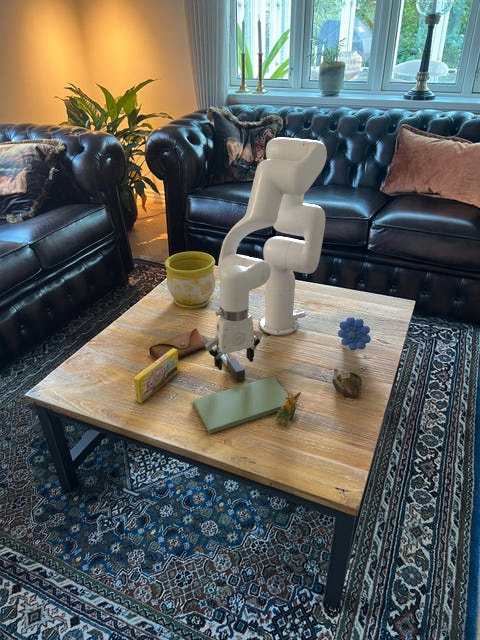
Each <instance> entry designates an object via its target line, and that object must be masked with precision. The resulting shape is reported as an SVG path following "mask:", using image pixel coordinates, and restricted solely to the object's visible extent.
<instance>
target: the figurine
mask: <svg viewBox="0 0 480 640" xmlns="http://www.w3.org/2000/svg"><path fill="white" fill-rule="evenodd" d="M287 394H288V397H286V400H287V399H288V400H287V401H286V402H285V404H284V405H283V406H282V407H281V409H280V411H279V410H278V411H277V412H276V417H275V419H276V420H275V421H276V422H277V421H280V422H278V424H279V425H282V424H283V423H285V424H284V425H283V428H284V427H285V428H286V427H287V425H288V423H289V420H290V421H292V422H293V420H294V416H295V415H296V414H295V413H296V403H297V401H298V399H299V397H300V396H301V394H302V391H298V393H296V394H294V395H293V394H292V393H291V392H288V393H287ZM289 396H290V397H289ZM290 399H291V400H290ZM284 421H285V422H284Z"/></svg>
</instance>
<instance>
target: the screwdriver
mask: <svg viewBox="0 0 480 640" xmlns="http://www.w3.org/2000/svg"><path fill="white" fill-rule="evenodd" d="M221 358H222V364H224V366H225V367H226V369H227V370H228V372H229V373H230V375H231V376H232V377H233V379H234V381H235V382H237V383H239V382H241V381H245V379H246V370H245V368H244V367H243V365H242V364H241V363H240V361H239V360H238V358H237V357H236V356H232V357H229V355H228V353H227V354H224V353H223V354H222V356H221Z"/></svg>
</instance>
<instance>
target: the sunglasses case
mask: <svg viewBox="0 0 480 640" xmlns="http://www.w3.org/2000/svg"><path fill="white" fill-rule="evenodd" d="M207 343H208V342H207V341H206V339H205V338H204V337H203V335H202V334H201V333H200V331H199V330H198V328H197V327H195V328H193V329H191V330H189V331H187V332H183V333H180V334H178V335H176V336H173V337H171V338H168V339H166V340H164V341H161V342H159V343H156V344H154V345H151V346H150V347H149V349H148V352H149V355H150V357H151V358H152V359H153V360H154V362H155V361H157V360H158V359H159V358H161V357H162V356H163V355H164V354H166V353H167V352H168V351H170V350H171V349H172V348H174V349H176V350H177V353H178V360H180V359H181V358H184V357H187V356H188V355H192V354H193V353H196V352H199V351H200V350H203V349H206V348H205V344H207Z"/></svg>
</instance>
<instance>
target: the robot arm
mask: <svg viewBox="0 0 480 640" xmlns="http://www.w3.org/2000/svg"><path fill="white" fill-rule="evenodd" d="M265 158H266V159H264V160H262V161H260V162H259V163H258V164H257V167H256V169H255V174H254V177H253V181H252V185H251V190H250V195H249V199H248V204H247V208H246V212H245V215H244V216H243V217H242V218H241V219H240V220H238V222H237V223H235V225H234V226H232V227H231V229H230V230H229V231H228V233H227V234H226V236H225V238H224V239H223V242H222V245H221V248H220V253H219V257H218V262H217V263H218V264H217V270H218V271H217V272H218V274H219V294H220V295H219V300H220V301H219V302H220V303H219V309H218V310H216V311H215V315H216V317H217V320H216V321H217V322H216V326H215V327H216V328H215V337H214V338H212V339H211V340H209V341H208V342H207V344H205V348H204V349H205V350H206V351H207V352H208V353H209V355H210V356H212V357H213V363H214V366H215V368H217V369H218V371H222V370H223V361H222V358H221V356H222V354H223V353H224V354H227V355H228V354H230V353H231V354H232V353H235V352H240V351H242V350H243V351H244V350H246V352H245V353H246V359H247V360H248V361H249V362H250V363H253V362H254V358H255V351H256V349H257V346H258V345H259V344H261V340H262V338H263V337H264V332H265V333H267V334H269V335H272V336H273V335H274V336H285V335H286V336H287V335H289V334H292V333H293V332H295V331H296V330H297V328H298V322H297V320H298V319H302V318H303V319H304V318H306V311H301V312H299V310H298V309H294V307H295V292H296V291H295V290H296V277H295V274H294V272H297V273H301V274H308V275H309V274H313V273H314V272H315V271H316V270H317V269H318V266H319V263H320V260H321V259H320V258H321V254H322V248H323V247H322V246H323V241H324V234H325V229H326V213H325V210H324V209H323V208H322V207H321V206H319V205H316V204H310V203H305V201H304V199H305V194H306V193H307V192H308V191H309V189H310V188H311V187H312V185H313V184H314V182H315V181H316V179H317V178H318V177H319V175H320V174H321V172H322V171H323V169H324V167H325V165H326V162H327V158H328V151H327V147H326V145H325V144H324V143H323V142H321V141H320V140H315V139H314V140H313V139H303V138H302V139H301V138H292V137H276V138H272V139H270V140H269V141H268V142H267V143H266V147H265ZM270 227H273V229H274V230H275V231H277V232H279V233H282V234H287V235H292V236H298V237H303V238H304V240H302V239H301V240H300V239H296V238H291V237H286V236H273V237H269V238H268V239H267V240H266V242H265V243H264V246H263V251H262V252H263V253H262V255H263V259H261V258H256V257H250V256H248V255H243V254H238V253H237V251H238V248H239V245H240V243H241V241H242V240H243V239H244V238H245V237H247V236H248V235H249V234H251V233H253V232H255V231H258V230H259V231H260V230H262V229H267V228H270ZM264 285H265V295H264V297H265V298H264V316H263V317H262V318H261V319H260V322H259V326H260V328H261V330H262V331H264V332H262V331H260V330H257V329H254V321H253V317H252V314H251V313H250V312H249V309H250V308H249V306H250V294H249V293H250V291H252V290H255V289H258V288H260V287H262V286H264ZM214 347H215V348H214ZM213 348H214V349H213Z"/></svg>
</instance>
